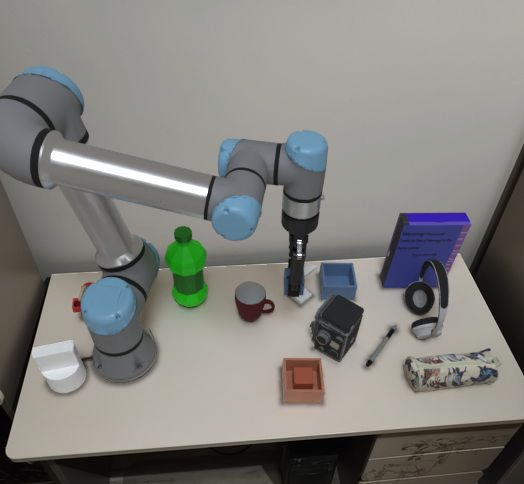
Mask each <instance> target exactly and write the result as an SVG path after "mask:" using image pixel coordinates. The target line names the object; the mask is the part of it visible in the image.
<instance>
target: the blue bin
mask: <svg viewBox="0 0 524 484" xmlns="http://www.w3.org/2000/svg"><path fill="white" fill-rule="evenodd" d="M318 281H319V289H320V290H319V291H320V298H321V300H326V299H327V298H328V297H329V296H330V294H336V295H341V296H343V297H344V298H346V299H348V300H350V301H351V300H353V301H354V300H355V297H356V294H357V291H358V282H357V277H356V272H355V266H354V263H353V262H320V267H319V272H318Z"/></svg>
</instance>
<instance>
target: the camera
mask: <svg viewBox="0 0 524 484" xmlns="http://www.w3.org/2000/svg"><path fill="white" fill-rule="evenodd" d="M364 313H365V309H364V307H362V306H360V305H358V304H357V303H355V302H353V301H351V300H348V299H346V298H344V297H343V296H341V295H336V294H330V296H329V297H328V298H327V299H324V301H323V303H321V305H320V306H319V307H318V308H317V310H316V312H315V314H314V320H312V321H311V322H310V324H309V328H310V330H311V332H310V333H311V339H310V340H311V341H313V342H314V349H316V350H317V351H319V352H321V353H323V354H324V355H326V356H328V357H329V358H331V359H333V360H334V361H337V362H342V360H343V359H344V357H345V356H346V355H347V353H348V352H349V351H350V349H351V348H352V347H353V345H354V343H355V342H356V340H357V337H358V334H359V330H360V327H361V323H362V321H363V318H364Z"/></svg>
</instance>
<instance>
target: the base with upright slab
mask: <svg viewBox="0 0 524 484" xmlns="http://www.w3.org/2000/svg"><path fill="white" fill-rule="evenodd" d="M75 344H76V343H75V342H74V340H73V339H69V340H64V341H59V342H53V343H49V344H48V343H47V344H43V345H38V346H33V347H32V350H31V357H32V359H33V361H34V363H35V364H36V367H38V369H39V371H40V373H41V374H42V376H43V378H44V379H45V381H46V383H47V385H48V386H49V388H50V389H51V390H52V391H54V392H56V393H60V394H67V393H72V392H74V391H76V390H78V389H79V388H80V387H81V386H82V385H83V384H84V382H85V381H86V379H87V373H88V372H87V369H86V366H85V364H84V361H82V360H81V358H82V357H81V355H80V353H79V351H78V349H77V347H76V345H75Z"/></svg>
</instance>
